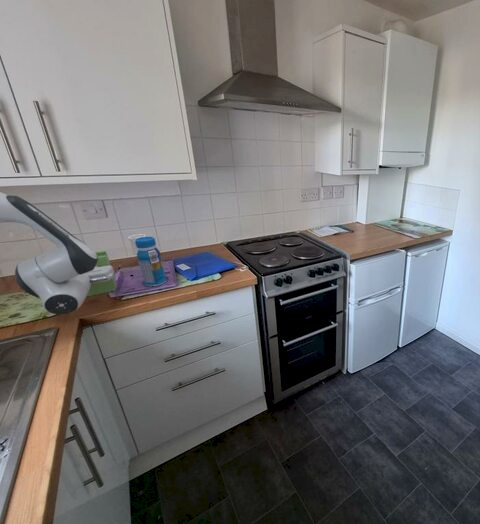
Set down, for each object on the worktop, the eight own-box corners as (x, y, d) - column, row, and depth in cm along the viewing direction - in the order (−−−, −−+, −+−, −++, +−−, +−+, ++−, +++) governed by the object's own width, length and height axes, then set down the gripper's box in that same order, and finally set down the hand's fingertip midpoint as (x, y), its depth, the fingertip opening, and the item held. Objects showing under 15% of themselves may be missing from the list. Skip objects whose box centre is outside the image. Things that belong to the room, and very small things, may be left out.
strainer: (144, 265, 147) (136, 236, 141) (131, 264, 148) (123, 235, 142) (155, 260, 153) (148, 232, 148) (143, 259, 154) (135, 231, 149)
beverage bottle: (142, 288, 124) (129, 242, 117) (147, 280, 132) (135, 236, 124) (165, 285, 127) (153, 240, 119) (169, 277, 134) (158, 235, 127)
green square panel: (70, 299, 115) (55, 260, 109) (73, 294, 119) (58, 255, 113) (116, 291, 122) (104, 253, 116) (117, 286, 126) (106, 249, 120)
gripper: (109, 269, 102) (113, 257, 113) (27, 282, 92) (40, 267, 103) (114, 285, 105) (118, 272, 115) (35, 300, 95) (47, 284, 106)
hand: (81, 270), depth 109 cm, fingers closed on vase, 7 cm apart
